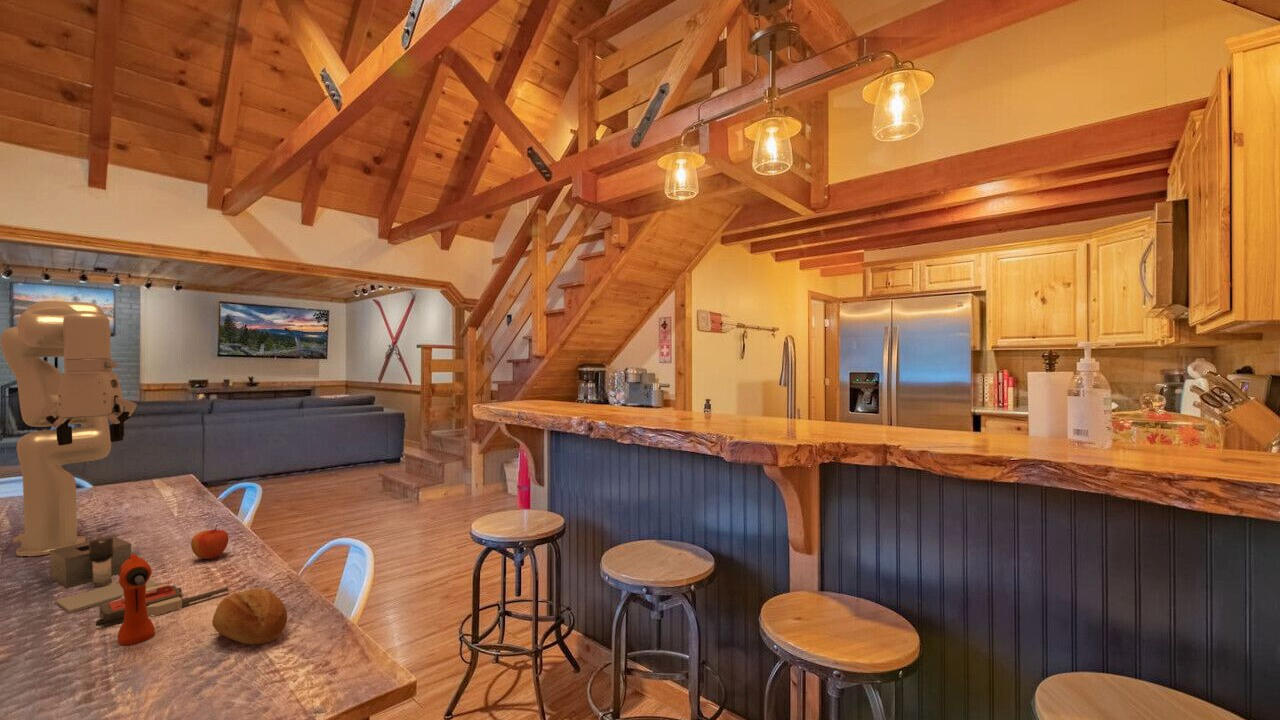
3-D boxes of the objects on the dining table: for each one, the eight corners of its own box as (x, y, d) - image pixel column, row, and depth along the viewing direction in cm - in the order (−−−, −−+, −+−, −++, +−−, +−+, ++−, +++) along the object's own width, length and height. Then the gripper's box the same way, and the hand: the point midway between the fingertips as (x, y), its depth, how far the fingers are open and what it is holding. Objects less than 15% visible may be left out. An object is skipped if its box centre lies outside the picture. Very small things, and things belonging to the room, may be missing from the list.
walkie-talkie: (98, 635, 100) (229, 596, 116) (97, 611, 100) (229, 576, 116) (90, 621, 106) (217, 586, 122) (90, 598, 106) (217, 566, 121)
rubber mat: (55, 603, 113) (55, 600, 113) (142, 578, 125) (142, 576, 125) (69, 613, 108) (69, 610, 108) (159, 586, 120) (159, 584, 120)
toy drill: (123, 665, 87) (120, 569, 88) (116, 638, 100) (113, 555, 101) (163, 652, 91) (160, 560, 92) (152, 628, 104) (149, 548, 105)
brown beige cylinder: (85, 588, 120) (84, 543, 120) (101, 581, 124) (100, 537, 124) (102, 588, 120) (101, 542, 120) (118, 580, 124) (117, 537, 124)
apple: (184, 561, 135) (184, 529, 135) (217, 551, 142) (216, 520, 142) (203, 565, 132) (202, 532, 132) (235, 555, 139) (234, 523, 139)
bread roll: (243, 660, 91) (242, 612, 91) (197, 639, 98) (196, 595, 98) (302, 633, 100) (301, 590, 99) (255, 616, 106) (254, 575, 106)
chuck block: (50, 578, 126) (49, 550, 126) (114, 562, 135) (113, 536, 135) (66, 588, 120) (65, 558, 120) (131, 570, 130) (131, 543, 130)
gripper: (144, 366, 130) (146, 438, 130) (54, 369, 126) (57, 443, 126) (122, 365, 123) (125, 441, 123) (27, 369, 119) (30, 448, 119)
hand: (91, 442), depth 124 cm, fingers open, 9 cm apart
